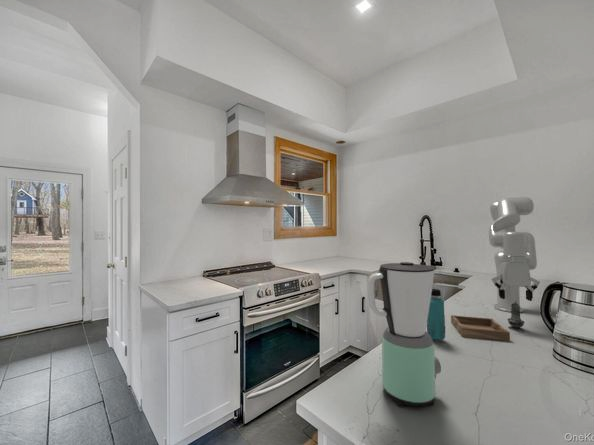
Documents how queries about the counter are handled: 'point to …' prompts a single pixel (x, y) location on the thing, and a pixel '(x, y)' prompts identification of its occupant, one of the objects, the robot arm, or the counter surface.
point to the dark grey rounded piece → (515, 318)
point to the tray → (480, 328)
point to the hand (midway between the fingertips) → (515, 299)
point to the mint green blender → (406, 332)
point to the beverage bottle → (436, 317)
